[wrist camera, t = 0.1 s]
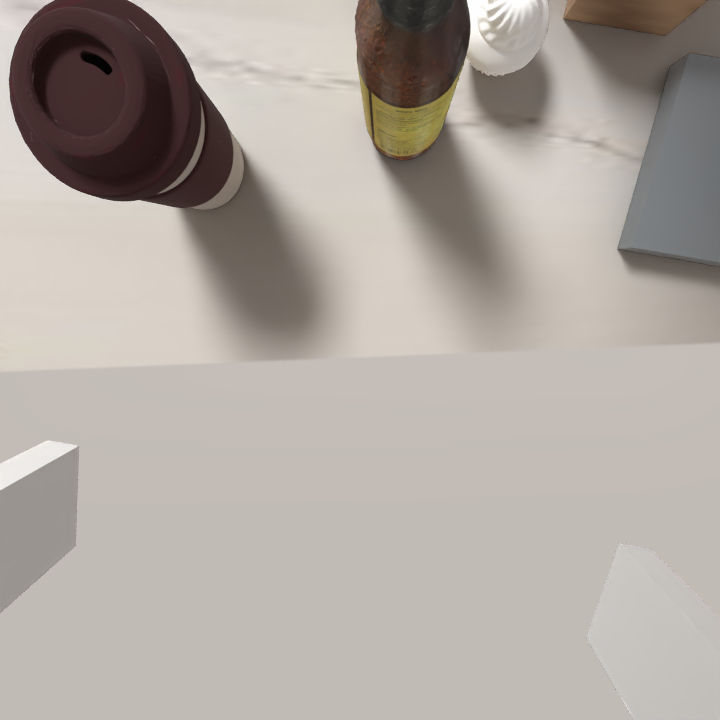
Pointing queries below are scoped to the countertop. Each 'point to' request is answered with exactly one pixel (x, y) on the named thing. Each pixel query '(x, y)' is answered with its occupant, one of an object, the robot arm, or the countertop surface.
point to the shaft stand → (681, 169)
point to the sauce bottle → (409, 69)
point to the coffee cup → (119, 108)
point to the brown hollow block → (633, 13)
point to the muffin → (505, 33)
